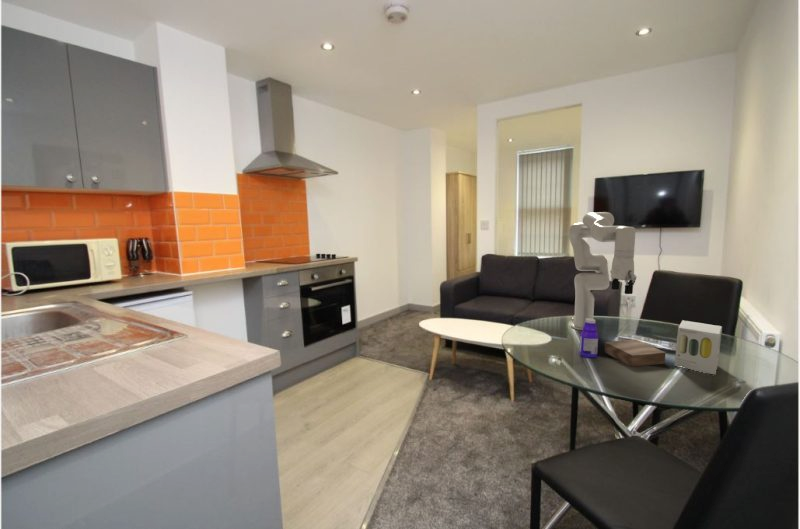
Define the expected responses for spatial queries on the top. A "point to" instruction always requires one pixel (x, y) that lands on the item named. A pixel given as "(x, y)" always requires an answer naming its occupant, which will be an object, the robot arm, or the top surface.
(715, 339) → the supplement box
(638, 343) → the plinth
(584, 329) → the bottle
